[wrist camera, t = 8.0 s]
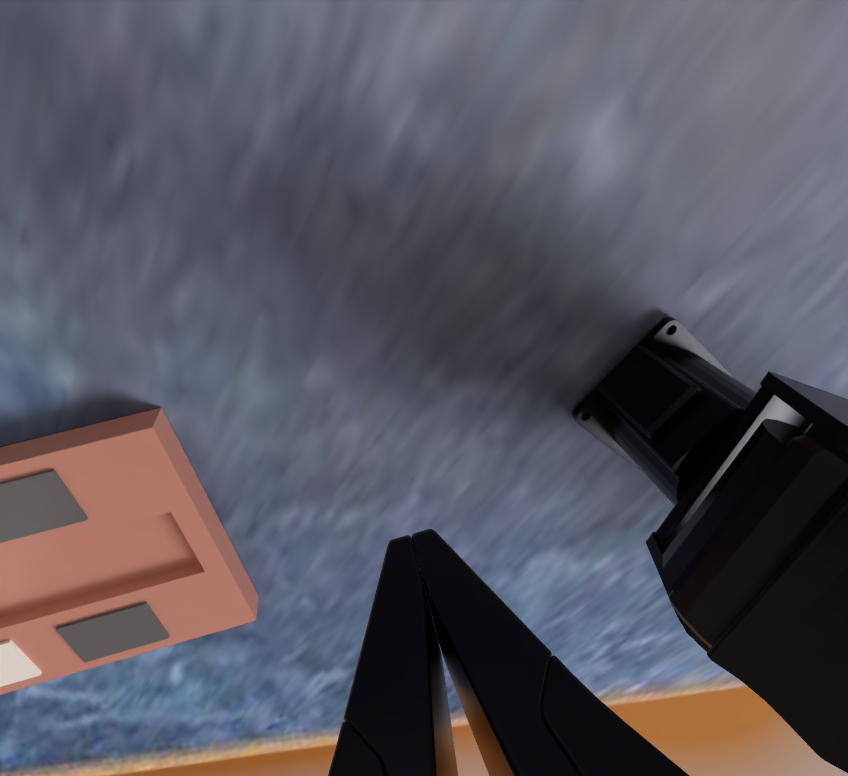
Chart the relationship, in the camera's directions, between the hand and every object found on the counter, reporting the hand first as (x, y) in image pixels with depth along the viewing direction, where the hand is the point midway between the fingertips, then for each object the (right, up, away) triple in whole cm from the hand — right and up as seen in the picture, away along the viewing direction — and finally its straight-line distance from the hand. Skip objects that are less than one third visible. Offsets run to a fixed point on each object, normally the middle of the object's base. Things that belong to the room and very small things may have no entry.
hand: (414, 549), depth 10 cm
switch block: (-18, -5, +14) cm, 23 cm away
